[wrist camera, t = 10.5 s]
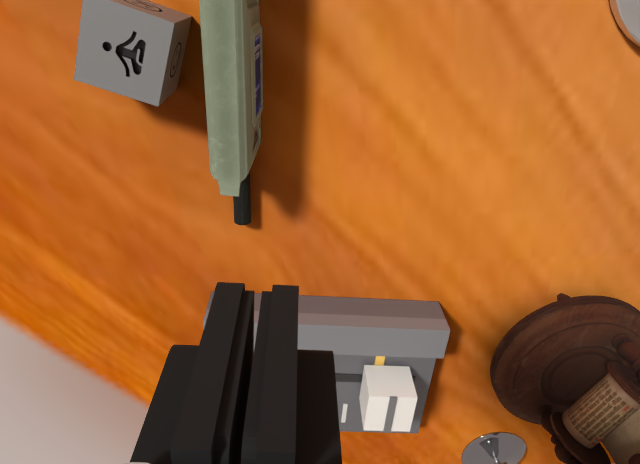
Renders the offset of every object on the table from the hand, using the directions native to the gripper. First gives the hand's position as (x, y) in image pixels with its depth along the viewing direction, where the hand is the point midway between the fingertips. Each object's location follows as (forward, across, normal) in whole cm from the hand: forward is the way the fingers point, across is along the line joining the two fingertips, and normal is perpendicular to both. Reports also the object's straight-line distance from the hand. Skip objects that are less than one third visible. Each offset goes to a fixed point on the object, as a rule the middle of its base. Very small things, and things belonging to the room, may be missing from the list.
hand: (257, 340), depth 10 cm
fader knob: (+24, -10, +25) cm, 36 cm away
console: (+27, -4, +25) cm, 37 cm away
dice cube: (+27, +10, -2) cm, 29 cm away
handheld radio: (+28, +4, -2) cm, 28 cm away
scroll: (+27, -27, +23) cm, 45 cm away
